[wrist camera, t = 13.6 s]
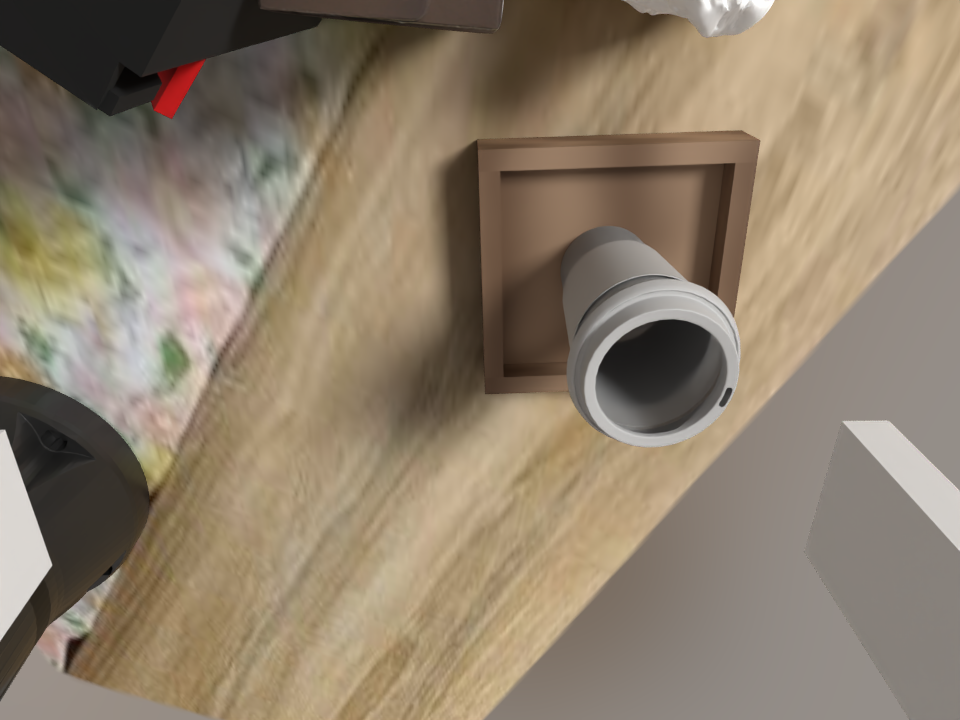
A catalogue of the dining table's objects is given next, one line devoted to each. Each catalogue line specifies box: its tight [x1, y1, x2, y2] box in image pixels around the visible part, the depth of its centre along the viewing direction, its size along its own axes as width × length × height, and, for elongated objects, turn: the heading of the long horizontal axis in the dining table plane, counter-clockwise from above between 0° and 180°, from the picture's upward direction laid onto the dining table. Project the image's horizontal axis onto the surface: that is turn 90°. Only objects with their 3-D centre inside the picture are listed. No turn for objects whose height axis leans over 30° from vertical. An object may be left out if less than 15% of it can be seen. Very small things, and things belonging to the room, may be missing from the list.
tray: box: [477, 130, 760, 394], centre depth 37 cm, size 13×13×2 cm
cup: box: [561, 226, 740, 447], centre depth 32 cm, size 7×7×12 cm
